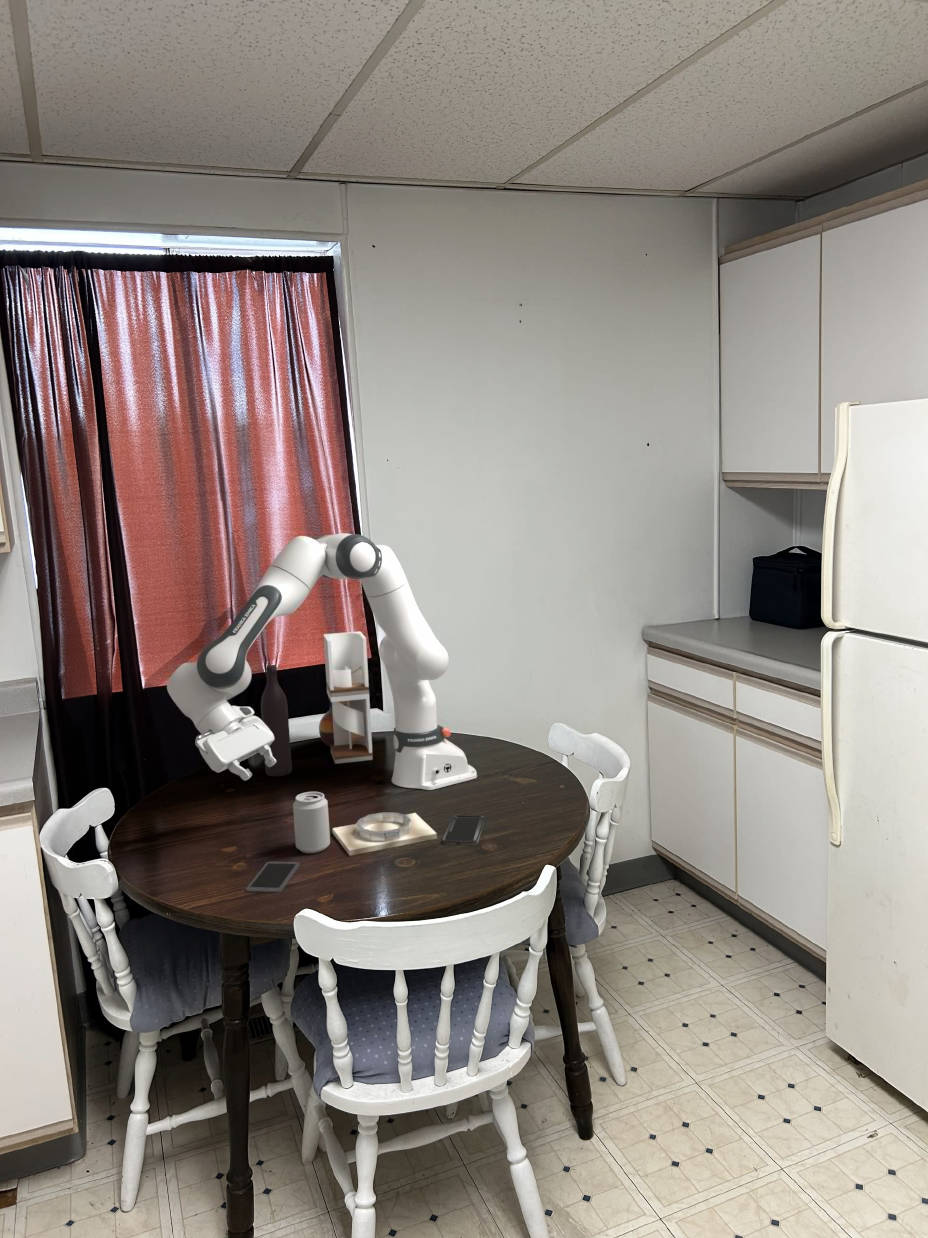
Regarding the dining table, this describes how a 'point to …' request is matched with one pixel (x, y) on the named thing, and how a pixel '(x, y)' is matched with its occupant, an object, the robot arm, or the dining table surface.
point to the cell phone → (272, 877)
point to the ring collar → (383, 835)
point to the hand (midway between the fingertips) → (261, 771)
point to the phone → (464, 830)
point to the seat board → (359, 846)
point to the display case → (348, 696)
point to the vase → (327, 727)
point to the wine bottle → (276, 724)
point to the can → (311, 822)
